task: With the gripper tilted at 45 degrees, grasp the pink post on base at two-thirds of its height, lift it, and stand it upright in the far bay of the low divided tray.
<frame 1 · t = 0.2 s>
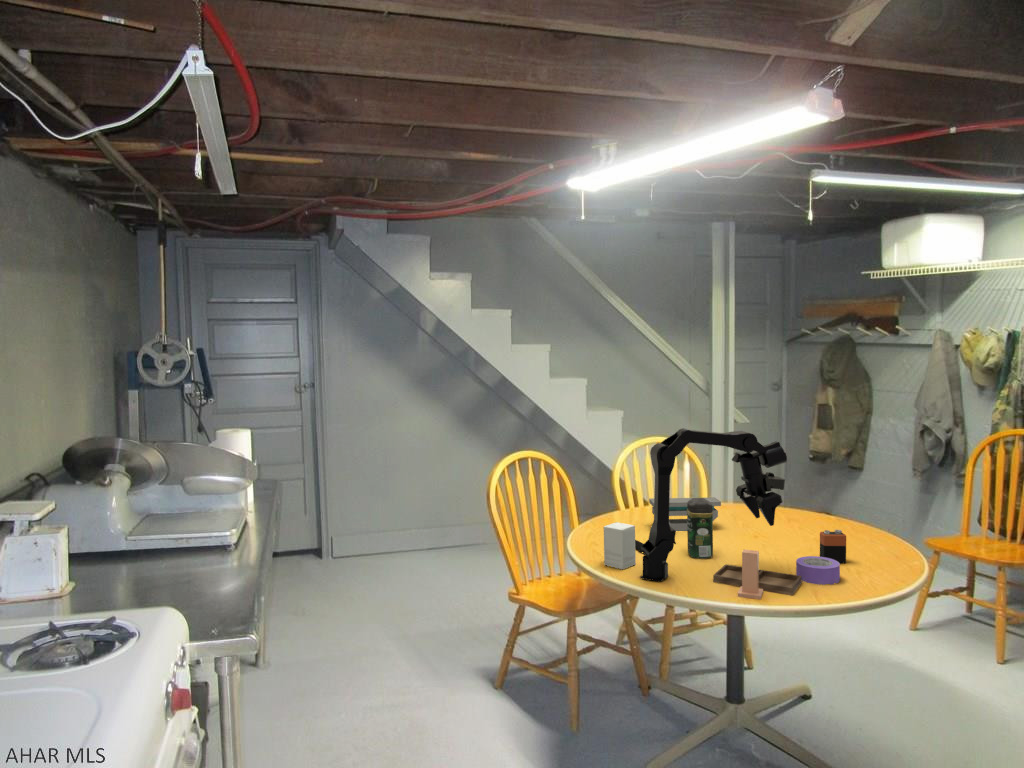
hand: (764, 521, 215), 15 cm above the table, tool pointing down, fingers open, 9 cm apart
tape roll: (817, 579, 210), on the table
battery: (832, 562, 225), on the table
electric trimmer: (646, 554, 237), on the table
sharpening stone: (684, 529, 268), on the table
coffee jar: (699, 555, 234), on the table
supplement box: (619, 565, 225), on the table
divided tray: (757, 582, 207), on the table
pink post on base: (750, 594, 197), on the table
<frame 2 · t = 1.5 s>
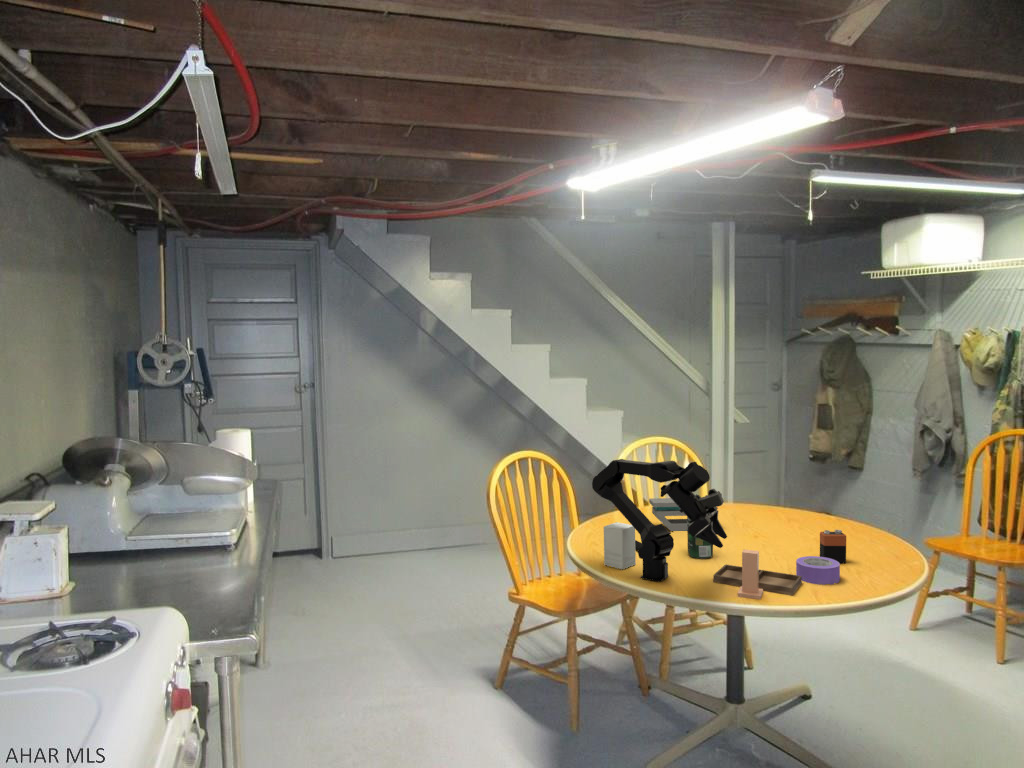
hand: (724, 542, 200), 14 cm above the table, tool tilted 45°, fingers open, 9 cm apart
nothing on the table moved.
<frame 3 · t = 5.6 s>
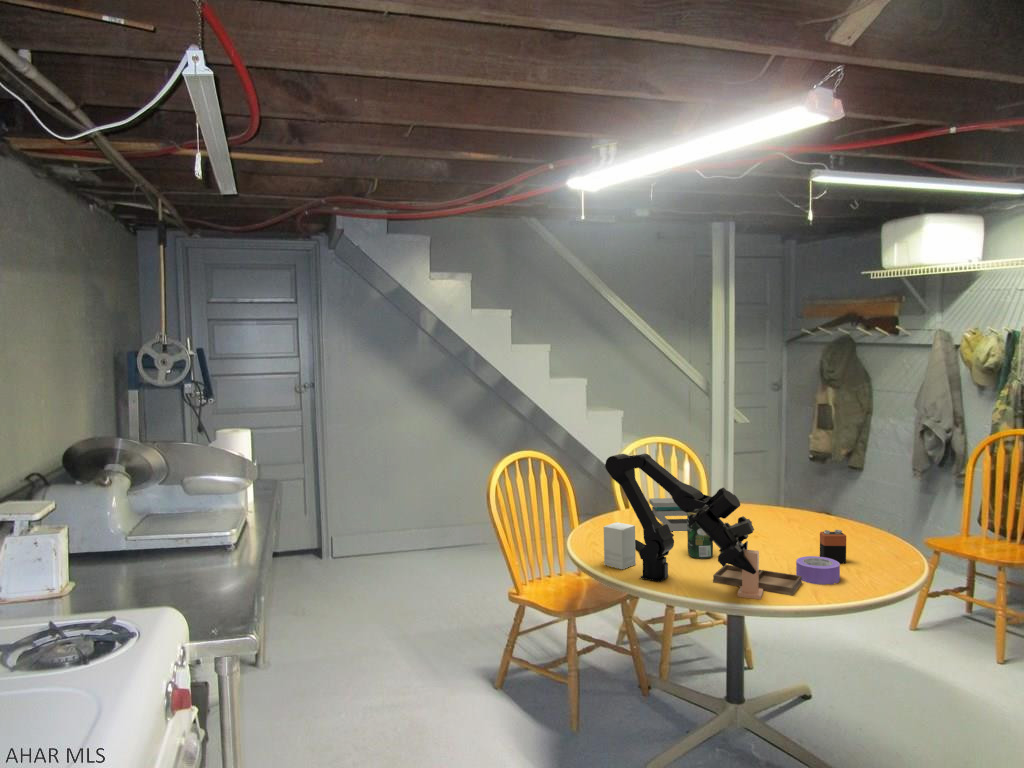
hand: (755, 571, 196), 7 cm above the table, tool tilted 45°, fingers closed on pink post on base, 3 cm apart
pink post on base: (750, 594, 197), on the table, touching gripper
everything else where it was.
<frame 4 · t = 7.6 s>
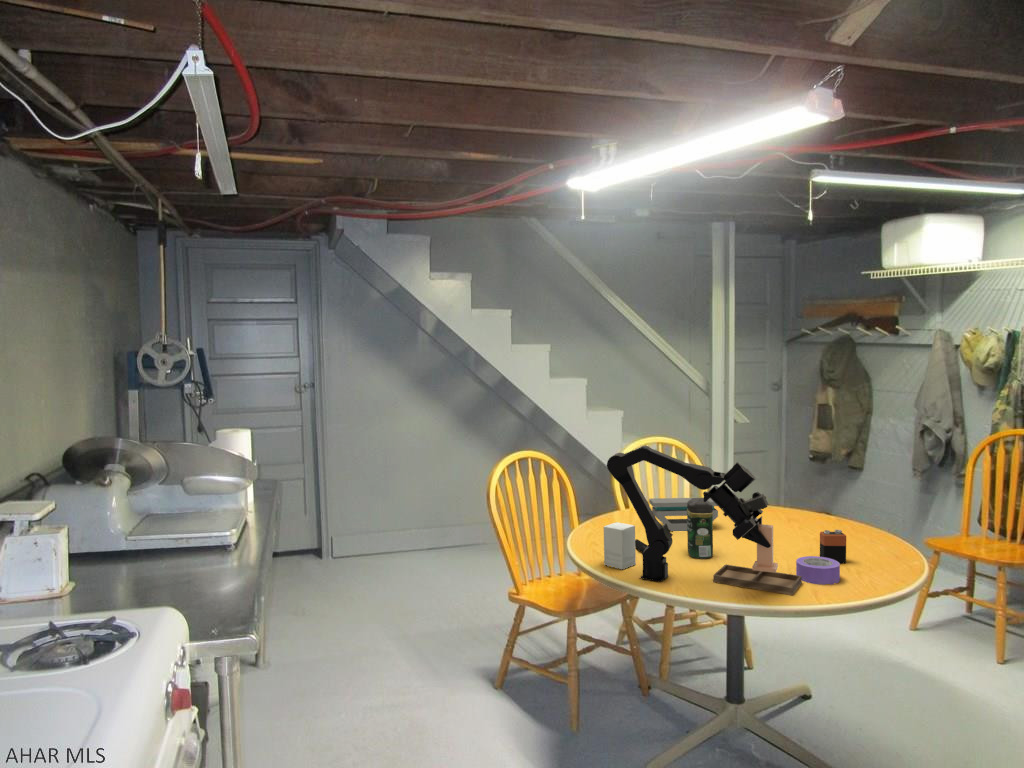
hand: (770, 545, 199), 13 cm above the table, tool tilted 45°, fingers closed on pink post on base, 3 cm apart
pink post on base: (765, 568, 200), point 6 cm above the table, touching gripper
everything else where it was.
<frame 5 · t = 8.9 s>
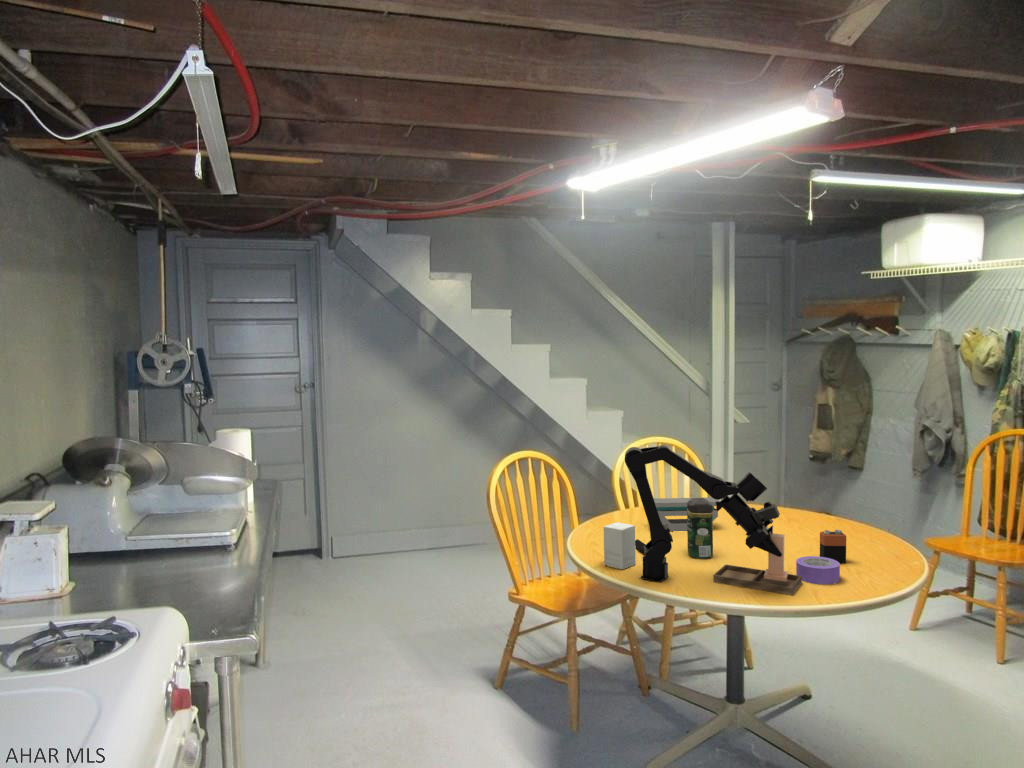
hand: (781, 554, 203), 9 cm above the table, tool tilted 45°, fingers closed on pink post on base, 3 cm apart
pink post on base: (776, 576, 203), point 3 cm above the table, touching gripper
everything else where it was.
when the fingers open (8 cm above the table, at t = 9.7 s): pink post on base drops 1 cm, resting on divided tray.
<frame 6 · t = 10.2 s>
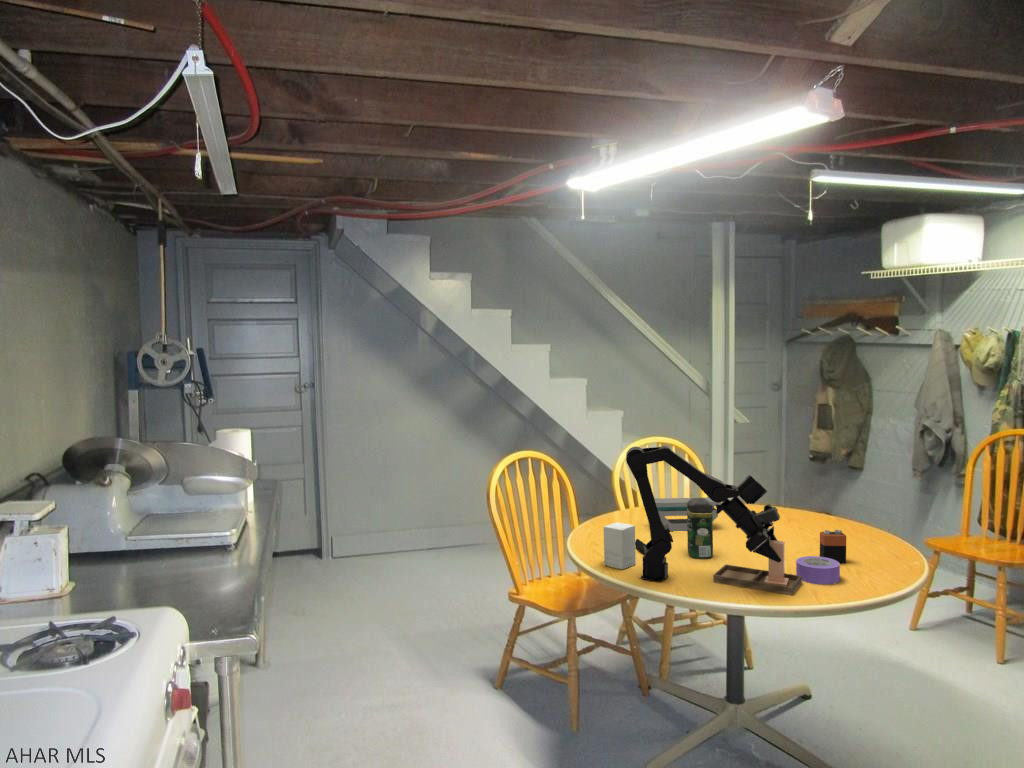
hand: (781, 557, 203), 8 cm above the table, tool tilted 45°, fingers open, 8 cm apart
pink post on base: (776, 583, 204), point 1 cm above the table, touching divided tray
everything else where it was.
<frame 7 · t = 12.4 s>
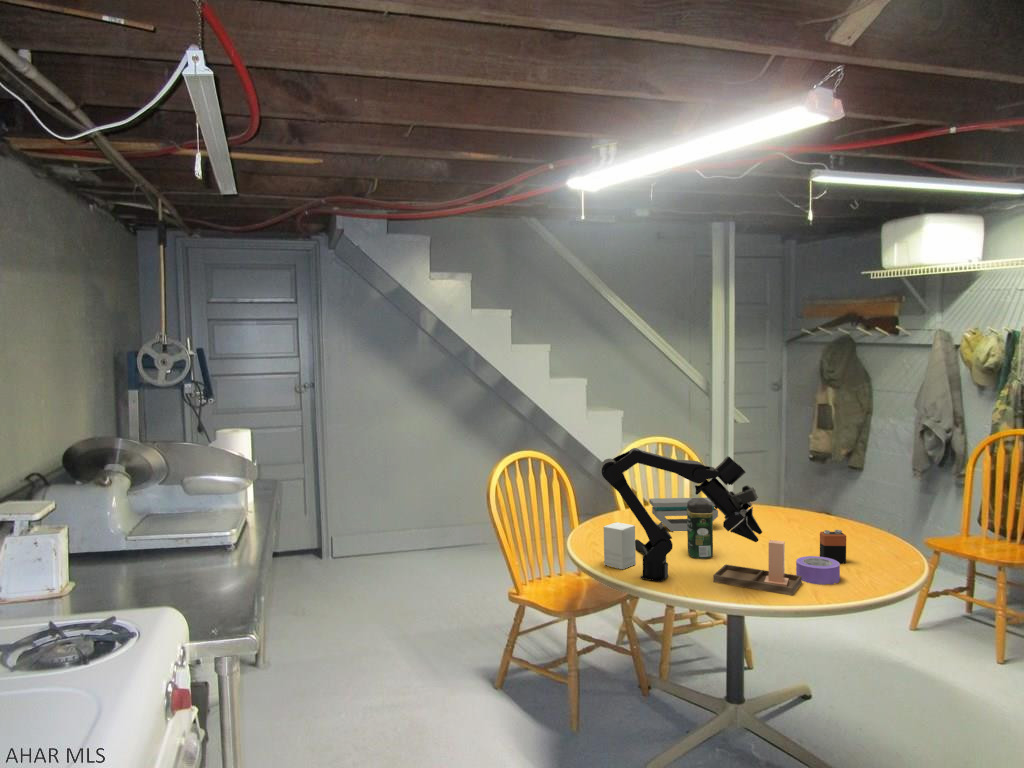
hand: (759, 537, 205), 14 cm above the table, tool tilted 45°, fingers open, 9 cm apart
nothing on the table moved.
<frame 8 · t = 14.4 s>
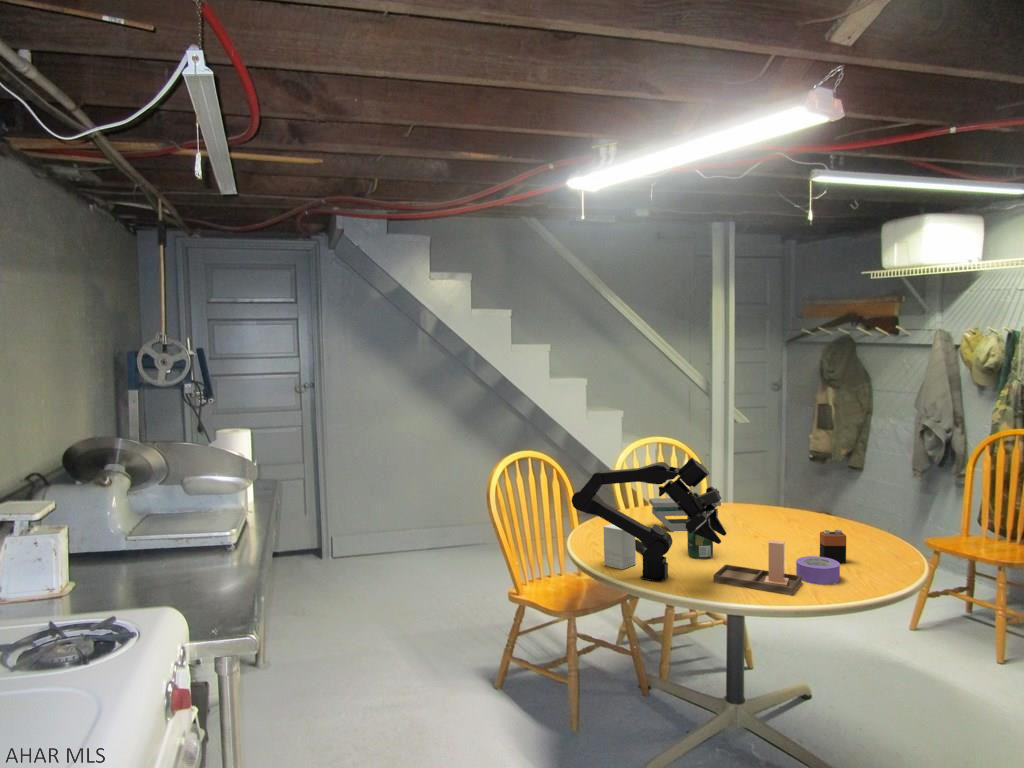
hand: (722, 538, 204), 14 cm above the table, tool tilted 45°, fingers open, 9 cm apart
nothing on the table moved.
at the end: pink post on base 0.1 cm from the target spot on the divided tray, point 0.6 cm above the divided tray's base; pink post on base tilted 0°; the gripper is holding nothing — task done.
